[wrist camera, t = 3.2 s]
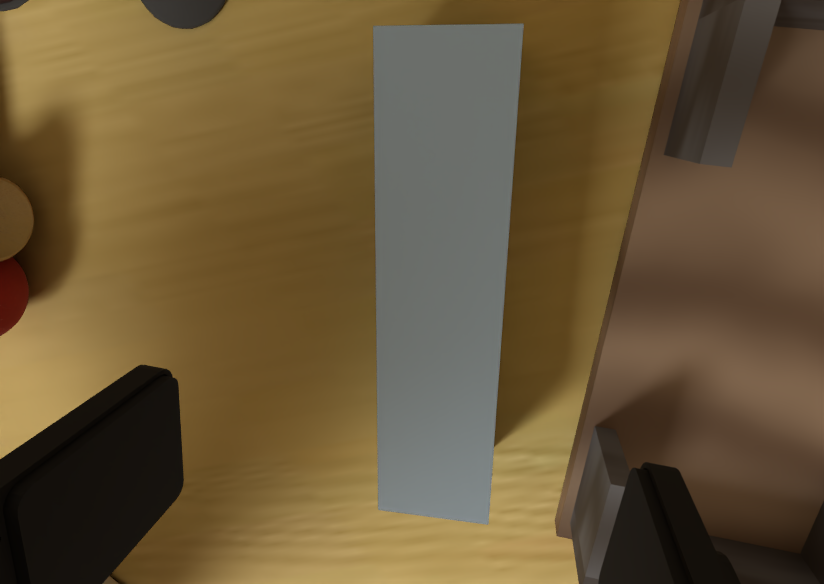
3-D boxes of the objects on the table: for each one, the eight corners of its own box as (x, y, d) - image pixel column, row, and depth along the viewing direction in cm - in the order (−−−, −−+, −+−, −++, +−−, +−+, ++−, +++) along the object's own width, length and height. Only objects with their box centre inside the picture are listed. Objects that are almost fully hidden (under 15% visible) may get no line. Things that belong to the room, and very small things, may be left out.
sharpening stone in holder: (805, 571, 28) (874, 677, 23) (554, 520, 30) (564, 607, 24) (1069, -6, 19) (1283, -53, 14) (688, -33, 21) (750, -85, 15)
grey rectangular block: (492, 445, 29) (488, 524, 23) (402, 435, 30) (378, 509, 24) (520, 46, 23) (523, 23, 17) (405, 47, 24) (373, 25, 18)
